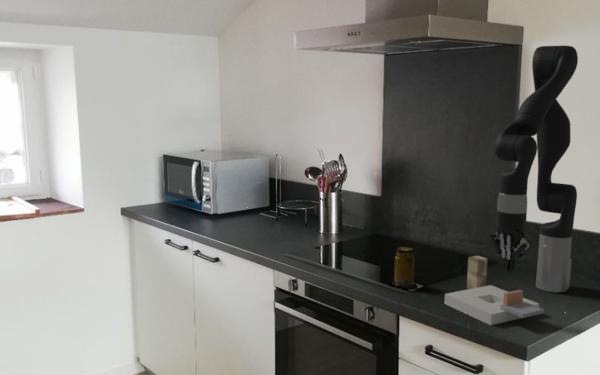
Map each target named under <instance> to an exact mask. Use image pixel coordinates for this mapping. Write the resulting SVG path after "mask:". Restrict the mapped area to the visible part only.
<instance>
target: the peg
mask: <svg viewBox="0 0 600 375" xmlns="http://www.w3.org/2000/svg"><path fill="white" fill-rule="evenodd" d="M487 268H488V258H486V257H483V256H480V255H473V256H468V258H467V273H466V274H467V276H466V278H467V279H466V289H467V290H468V289H473V288H479V287H484V286H487V284H486V283H487V272H488V271H487V270H488V269H487Z"/></svg>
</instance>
